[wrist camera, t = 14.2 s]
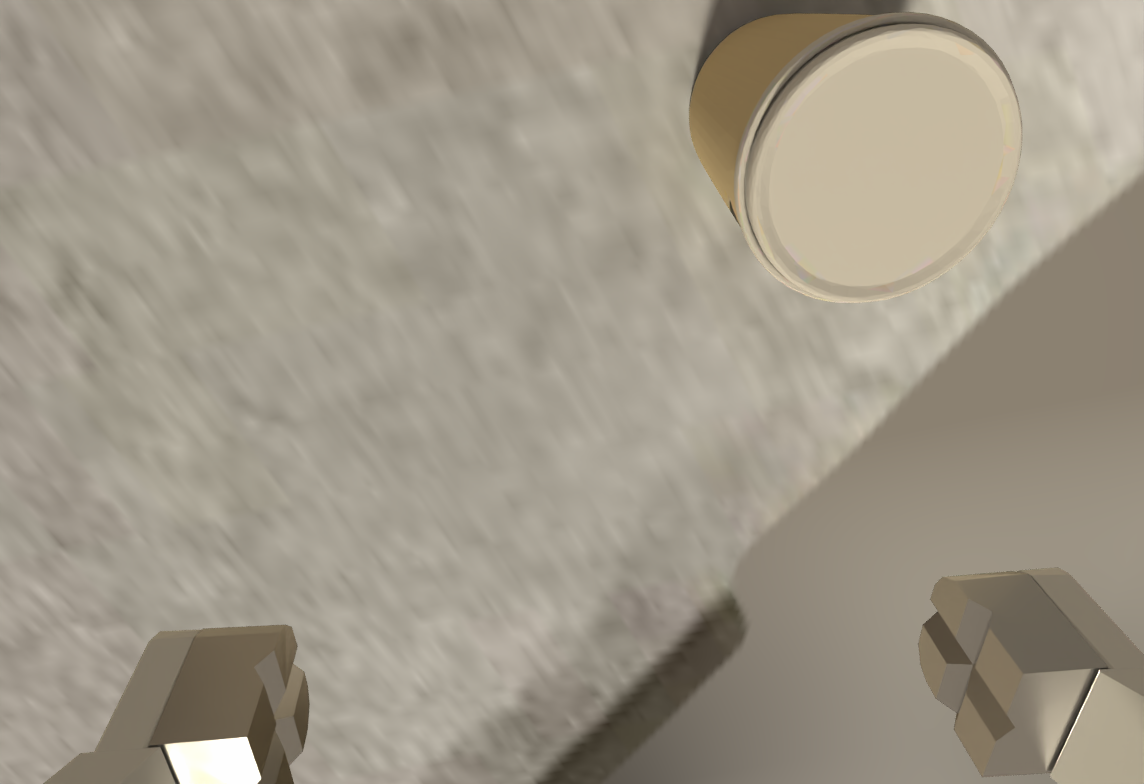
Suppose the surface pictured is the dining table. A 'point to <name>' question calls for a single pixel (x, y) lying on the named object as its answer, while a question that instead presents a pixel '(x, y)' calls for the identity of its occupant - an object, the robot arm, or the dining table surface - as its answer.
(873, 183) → the coffee cup
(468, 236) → the dining table surface
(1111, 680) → the robot arm
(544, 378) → the dining table surface
